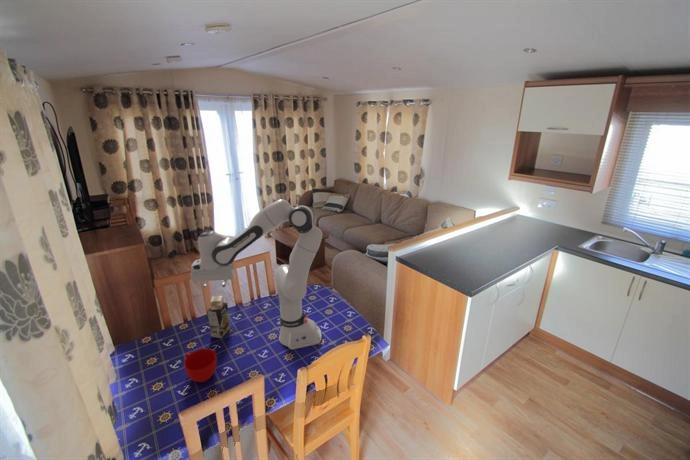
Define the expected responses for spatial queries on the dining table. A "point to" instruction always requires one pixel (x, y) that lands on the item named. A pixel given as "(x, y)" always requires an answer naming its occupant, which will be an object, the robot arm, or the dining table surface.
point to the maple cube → (216, 302)
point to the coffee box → (219, 321)
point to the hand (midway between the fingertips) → (214, 287)
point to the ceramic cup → (200, 364)
